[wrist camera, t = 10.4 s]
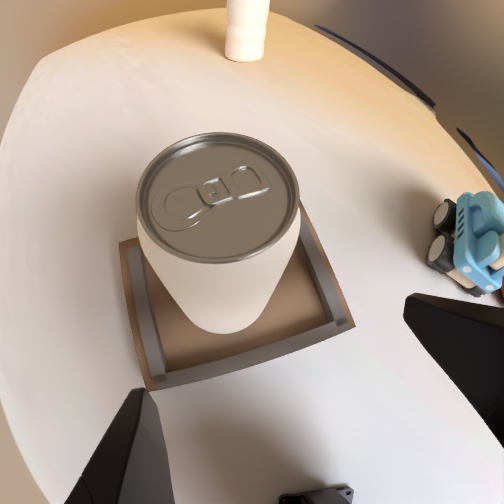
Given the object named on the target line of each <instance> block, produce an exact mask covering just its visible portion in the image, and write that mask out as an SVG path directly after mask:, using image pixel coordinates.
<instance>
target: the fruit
mask: <svg viewBox="0 0 504 504" xmlns="http://www.w3.org/2000/svg"><path fill="white" fill-rule="evenodd" d="M501 291H502V294H503V298H504V276H502V286H501Z"/></svg>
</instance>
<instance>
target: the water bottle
mask: <svg viewBox="0 0 504 504" xmlns="http://www.w3.org/2000/svg"><path fill="white" fill-rule="evenodd" d="M269 5H270V0H227V26H226V43H225V56H226V57H227V58H228V59H230V60H233V61H236V62H254V61H258V60H259V59H261V58H262V57H263V52H264V39H265V35H266V26H265V25H266V21H267V17H268V11H269Z"/></svg>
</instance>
